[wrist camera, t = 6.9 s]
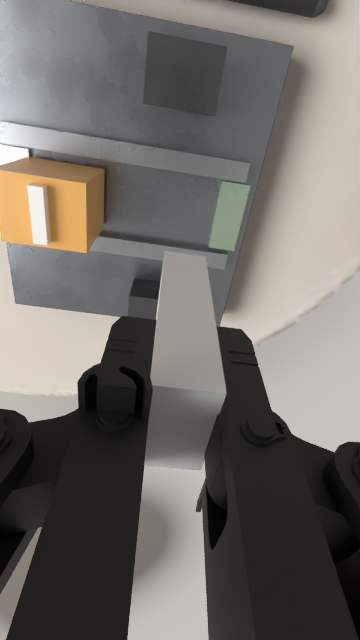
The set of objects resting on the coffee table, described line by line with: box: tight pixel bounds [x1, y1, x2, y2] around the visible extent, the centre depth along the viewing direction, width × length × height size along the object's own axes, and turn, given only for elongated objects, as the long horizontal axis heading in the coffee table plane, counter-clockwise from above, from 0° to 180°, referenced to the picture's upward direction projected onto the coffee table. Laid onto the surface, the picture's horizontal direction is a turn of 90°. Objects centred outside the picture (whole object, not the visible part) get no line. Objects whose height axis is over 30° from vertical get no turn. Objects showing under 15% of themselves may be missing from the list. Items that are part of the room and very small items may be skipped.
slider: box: [0, 157, 105, 253], centre depth 20 cm, size 4×5×6 cm
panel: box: [0, 0, 294, 327], centre depth 23 cm, size 20×18×6 cm
